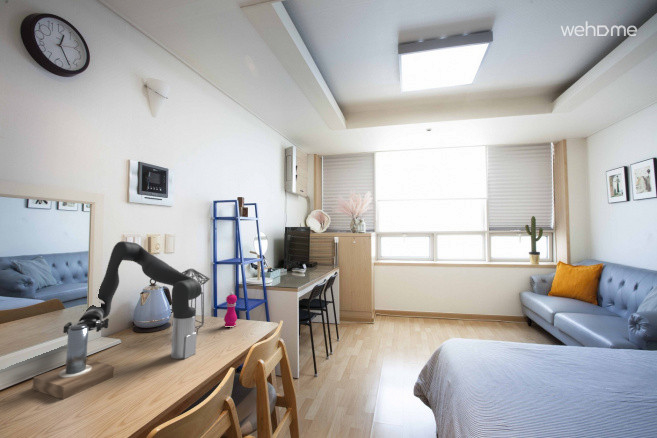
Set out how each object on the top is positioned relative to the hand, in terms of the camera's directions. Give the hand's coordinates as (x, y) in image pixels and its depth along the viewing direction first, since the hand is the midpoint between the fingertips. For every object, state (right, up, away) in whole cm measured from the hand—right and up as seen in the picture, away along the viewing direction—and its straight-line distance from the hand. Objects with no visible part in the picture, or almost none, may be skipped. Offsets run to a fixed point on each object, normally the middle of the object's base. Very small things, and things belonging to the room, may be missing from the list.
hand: (84, 330), depth 115 cm
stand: (+5, -15, -10) cm, 19 cm away
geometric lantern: (+21, -18, +42) cm, 50 cm away
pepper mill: (+39, -19, +55) cm, 70 cm away
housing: (+5, -11, -10) cm, 15 cm away
